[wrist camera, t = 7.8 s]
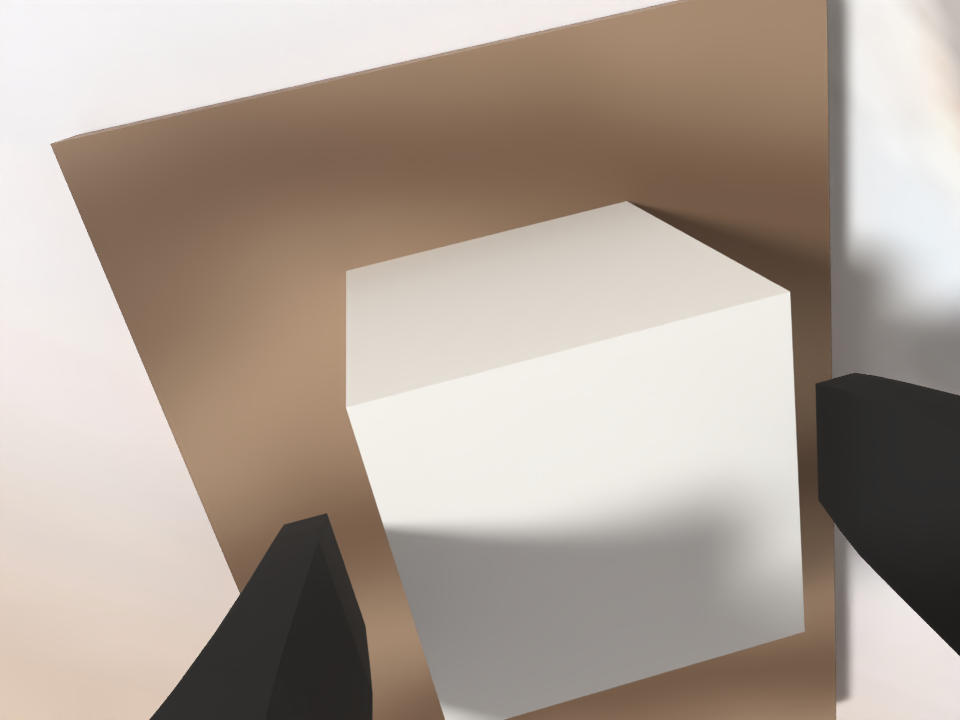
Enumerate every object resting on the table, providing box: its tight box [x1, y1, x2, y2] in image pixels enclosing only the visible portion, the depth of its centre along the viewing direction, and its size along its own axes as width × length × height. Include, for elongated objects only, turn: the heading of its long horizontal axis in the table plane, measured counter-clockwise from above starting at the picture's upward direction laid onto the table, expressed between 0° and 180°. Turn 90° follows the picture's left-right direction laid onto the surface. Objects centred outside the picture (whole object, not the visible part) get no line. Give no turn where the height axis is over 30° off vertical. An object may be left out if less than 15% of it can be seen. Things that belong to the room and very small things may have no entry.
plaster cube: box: [346, 201, 805, 720], centre depth 13 cm, size 6×6×6 cm
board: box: [51, 0, 836, 720], centre depth 18 cm, size 20×14×2 cm
